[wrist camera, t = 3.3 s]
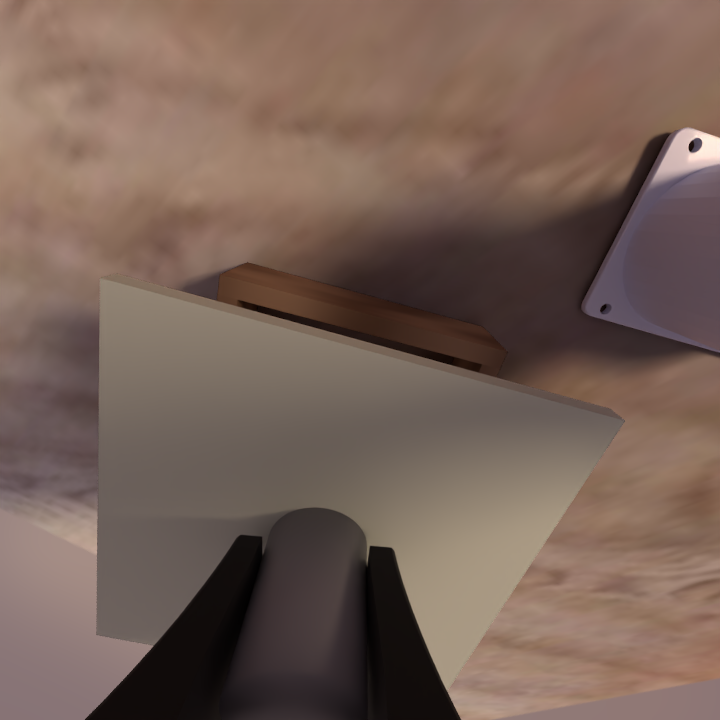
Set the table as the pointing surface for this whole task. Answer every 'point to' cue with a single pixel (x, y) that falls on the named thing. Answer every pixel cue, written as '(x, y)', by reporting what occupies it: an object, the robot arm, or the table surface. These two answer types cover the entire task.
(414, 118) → the table surface
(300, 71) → the table surface
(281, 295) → the walnut crate
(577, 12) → the table surface
